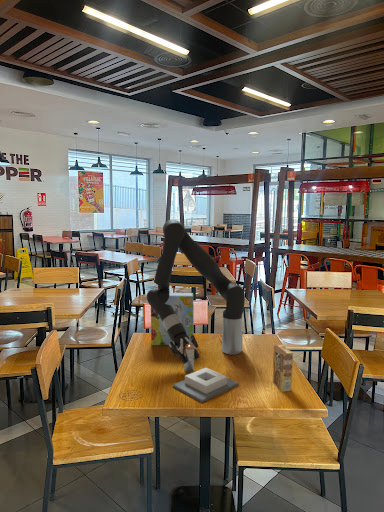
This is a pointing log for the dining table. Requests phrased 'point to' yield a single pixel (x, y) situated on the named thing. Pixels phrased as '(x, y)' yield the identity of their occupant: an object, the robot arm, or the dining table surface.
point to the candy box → (282, 368)
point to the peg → (189, 357)
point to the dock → (201, 395)
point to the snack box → (183, 310)
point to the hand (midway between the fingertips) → (191, 360)
